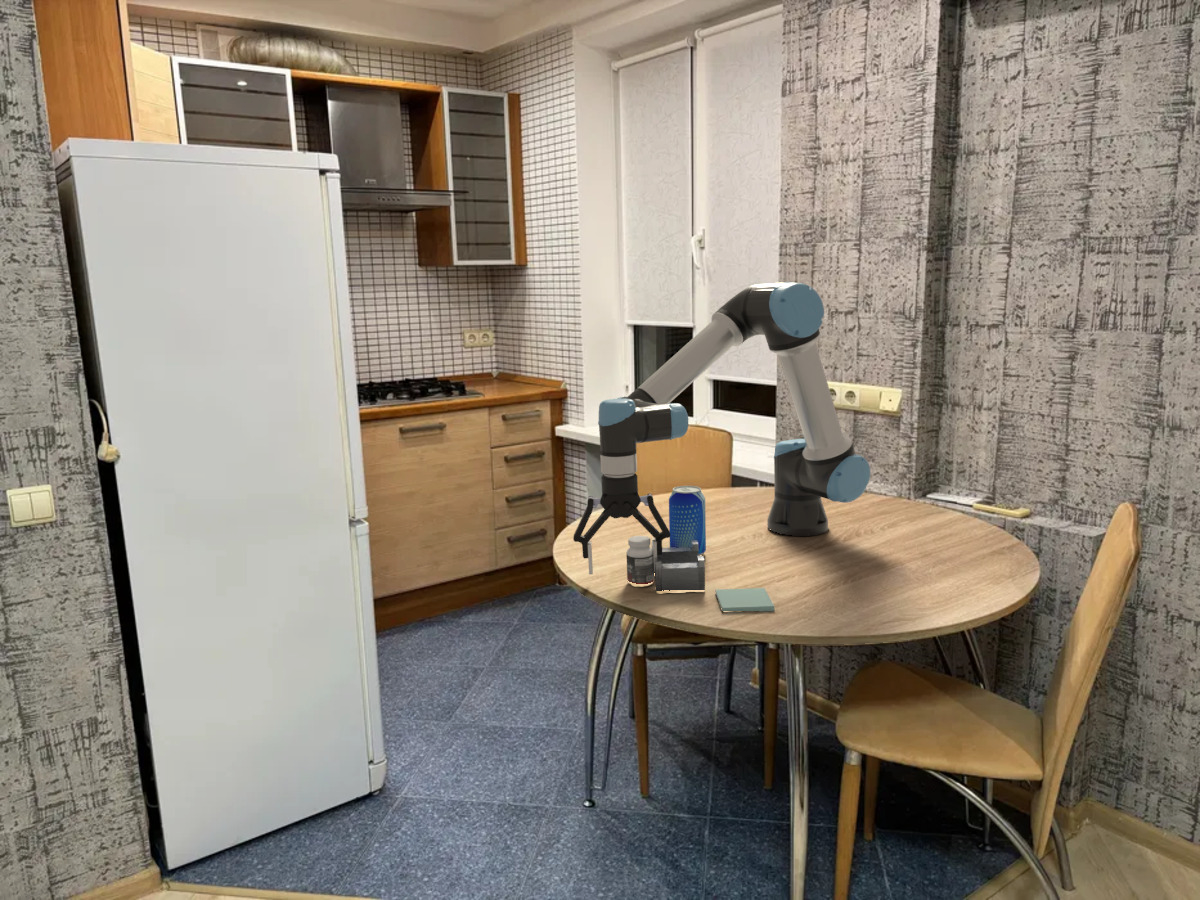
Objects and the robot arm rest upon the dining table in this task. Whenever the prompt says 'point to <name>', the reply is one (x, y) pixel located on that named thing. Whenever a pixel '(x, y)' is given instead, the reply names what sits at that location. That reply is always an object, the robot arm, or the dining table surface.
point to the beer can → (687, 517)
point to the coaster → (744, 599)
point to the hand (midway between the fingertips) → (623, 571)
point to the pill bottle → (640, 560)
